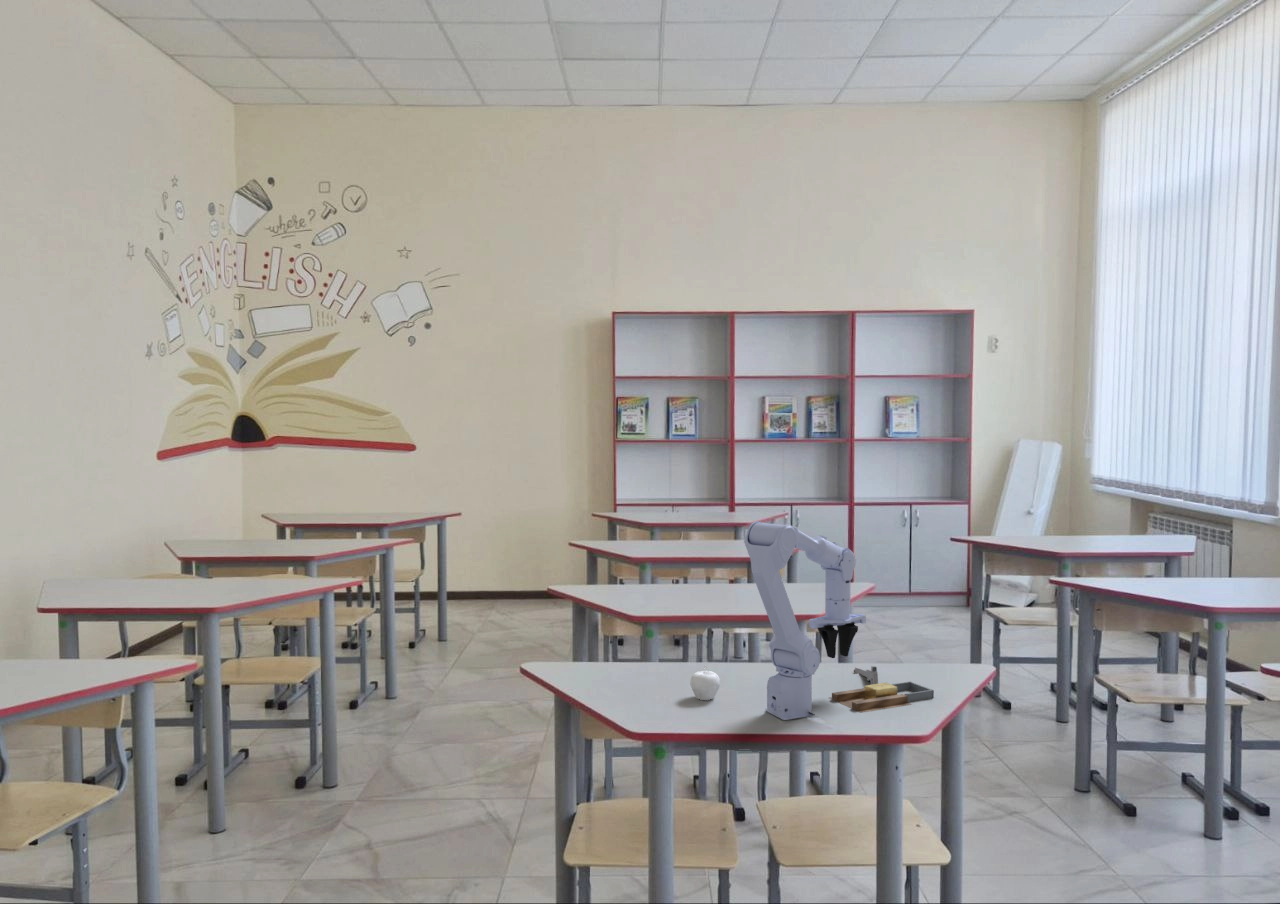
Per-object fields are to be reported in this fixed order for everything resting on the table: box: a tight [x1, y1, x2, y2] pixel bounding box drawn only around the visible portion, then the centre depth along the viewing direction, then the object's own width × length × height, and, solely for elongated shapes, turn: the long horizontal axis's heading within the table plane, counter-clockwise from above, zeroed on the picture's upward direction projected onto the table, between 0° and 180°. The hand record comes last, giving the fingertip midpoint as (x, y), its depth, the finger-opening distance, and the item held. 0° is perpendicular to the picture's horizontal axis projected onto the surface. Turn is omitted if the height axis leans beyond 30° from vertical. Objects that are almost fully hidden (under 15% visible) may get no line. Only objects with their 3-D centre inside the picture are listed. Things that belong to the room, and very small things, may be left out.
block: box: [864, 682, 898, 699], centre depth 214 cm, size 6×4×3 cm, turn 114°
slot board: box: [829, 687, 913, 713], centre depth 212 cm, size 14×12×3 cm
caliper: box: [853, 665, 879, 685], centre depth 233 cm, size 20×1×6 cm, turn 0°
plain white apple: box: [690, 664, 721, 701], centre depth 219 cm, size 7×7×8 cm
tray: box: [890, 681, 935, 703], centre depth 217 cm, size 8×8×3 cm
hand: (837, 656), depth 218 cm, fingers open, 3 cm apart
